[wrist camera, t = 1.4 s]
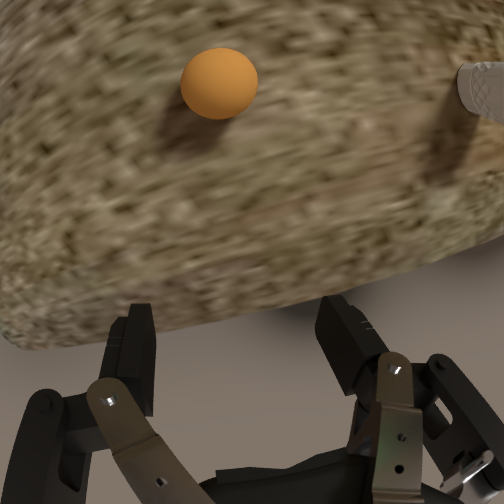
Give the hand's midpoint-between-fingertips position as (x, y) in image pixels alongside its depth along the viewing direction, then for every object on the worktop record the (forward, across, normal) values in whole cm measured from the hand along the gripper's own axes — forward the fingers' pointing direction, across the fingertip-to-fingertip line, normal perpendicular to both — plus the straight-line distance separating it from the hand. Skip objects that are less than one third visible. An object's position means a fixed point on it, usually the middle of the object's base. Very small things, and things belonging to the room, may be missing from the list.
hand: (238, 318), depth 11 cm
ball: (+13, 0, -10) cm, 16 cm away
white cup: (+16, -30, -16) cm, 38 cm away
